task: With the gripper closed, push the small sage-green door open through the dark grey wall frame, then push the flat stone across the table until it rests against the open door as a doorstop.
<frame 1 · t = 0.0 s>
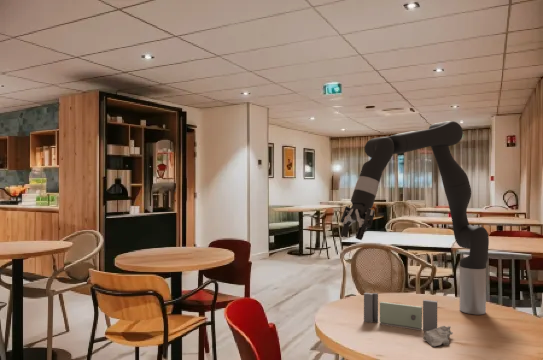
hand: (350, 237, 141), 31 cm above the table, tool tilted 20°, fingers open, 8 cm apart
door frame: (401, 326, 147), on the table
door: (400, 315, 146), point 4 cm above the table, hinge at 0.0°
stone: (439, 343, 133), on the table
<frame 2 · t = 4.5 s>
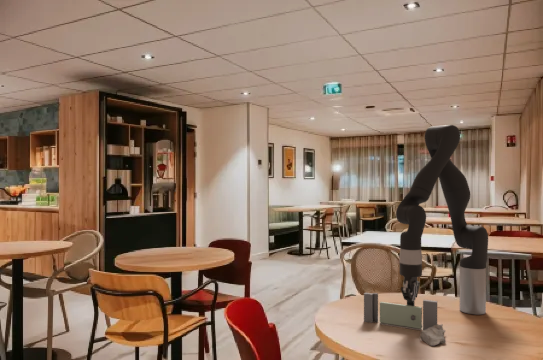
hand: (410, 311, 148), 5 cm above the table, tool pointing down, fingers closed
door: (400, 315, 146), point 4 cm above the table, hinge at 1.6°, touching gripper
stone: (435, 341, 134), on the table
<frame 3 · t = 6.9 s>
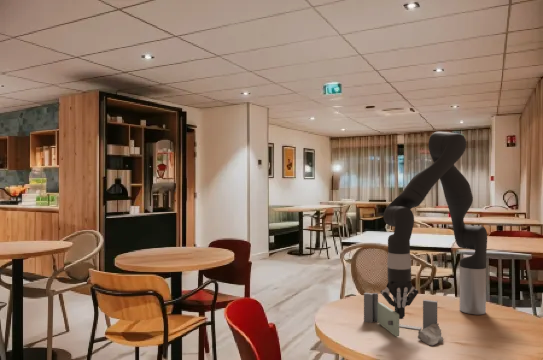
hand: (399, 318, 140), 5 cm above the table, tool pointing down, fingers closed
door: (386, 318, 142), point 4 cm above the table, hinge at 54.4°, touching gripper
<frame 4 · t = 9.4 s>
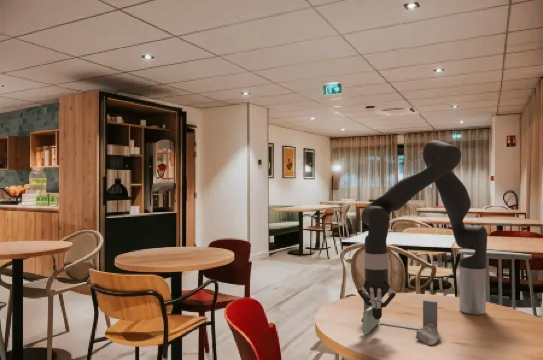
hand: (377, 318, 140), 5 cm above the table, tool pointing down, fingers closed
door: (369, 317, 144), point 4 cm above the table, hinge at 95.5°, touching gripper
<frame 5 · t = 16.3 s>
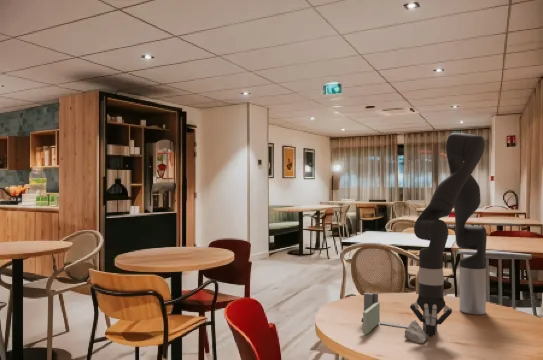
hand: (430, 336, 134), 1 cm above the table, tool pointing down, fingers closed
door: (369, 317, 144), point 4 cm above the table, hinge at 95.4°
stone: (416, 338, 136), on the table, touching gripper
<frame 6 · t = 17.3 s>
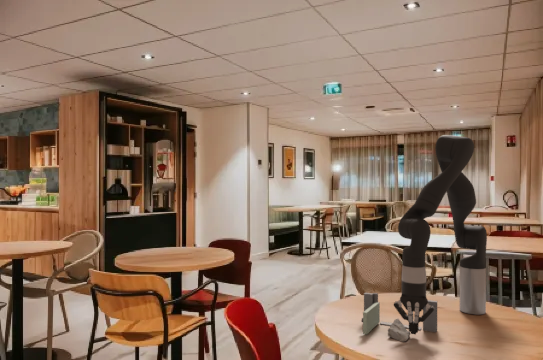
hand: (413, 333, 136), 1 cm above the table, tool pointing down, fingers closed
stone: (398, 336, 138), on the table, touching gripper
everything else where it was.
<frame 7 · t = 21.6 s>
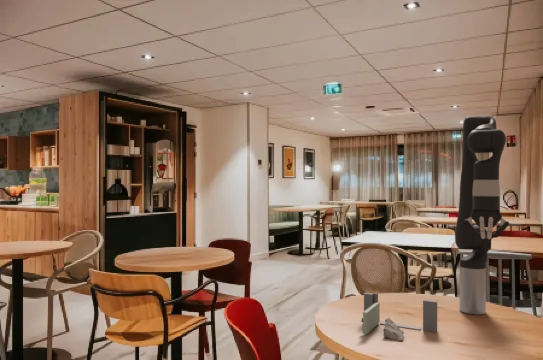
hand: (486, 250, 130), 29 cm above the table, tool pointing down, fingers closed
stone: (392, 336, 139), on the table
everything else where it was.
at the end: door at +95° (first picture: +0°); stone inside the target area (0.5 cm from its centre), on the table; stone moved 14.5 cm from its start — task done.
